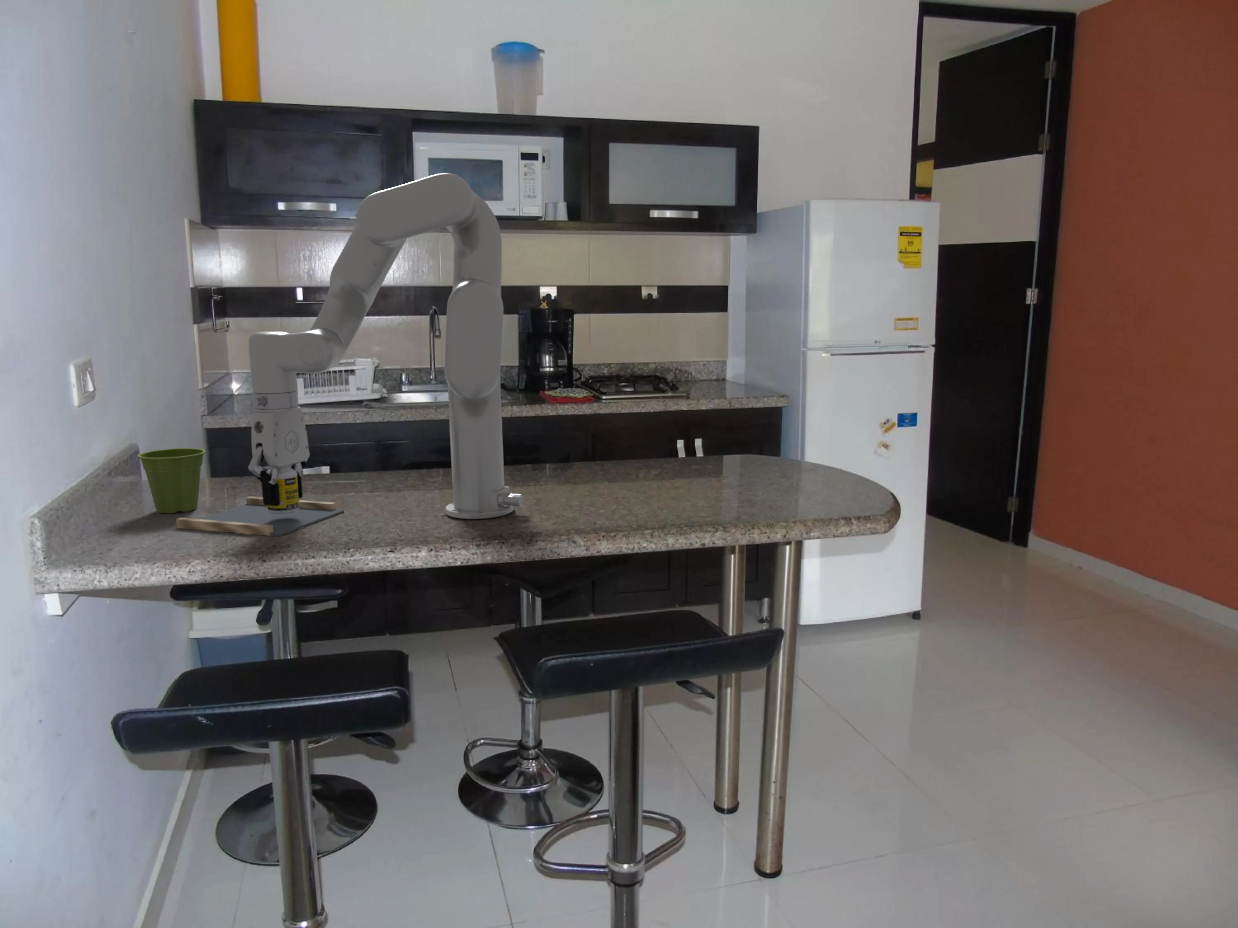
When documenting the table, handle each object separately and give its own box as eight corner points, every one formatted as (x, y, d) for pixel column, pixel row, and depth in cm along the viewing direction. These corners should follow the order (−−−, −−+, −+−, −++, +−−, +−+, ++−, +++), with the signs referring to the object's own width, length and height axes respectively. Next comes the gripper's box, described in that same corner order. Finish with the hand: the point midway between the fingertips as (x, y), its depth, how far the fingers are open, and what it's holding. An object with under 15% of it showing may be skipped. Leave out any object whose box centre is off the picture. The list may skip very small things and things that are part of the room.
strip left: (273, 534, 159) (272, 525, 158) (268, 535, 158) (268, 526, 157) (182, 526, 165) (181, 517, 165) (177, 527, 164) (176, 519, 164)
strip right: (336, 510, 175) (335, 502, 175) (332, 512, 174) (331, 504, 174) (251, 504, 181) (250, 496, 181) (246, 505, 180) (246, 497, 180)
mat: (344, 512, 174) (343, 509, 174) (280, 536, 157) (279, 533, 157) (249, 504, 181) (249, 503, 181) (178, 527, 164) (178, 525, 164)
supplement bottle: (289, 515, 164) (285, 461, 162) (262, 514, 165) (257, 460, 163) (305, 508, 169) (301, 456, 167) (278, 507, 170) (274, 455, 168)
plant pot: (202, 515, 173) (195, 456, 171) (134, 518, 172) (127, 459, 169) (218, 501, 185) (212, 446, 183) (155, 504, 183) (149, 448, 181)
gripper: (259, 408, 154) (267, 513, 158) (323, 397, 170) (330, 493, 174) (223, 406, 157) (232, 510, 160) (290, 396, 173) (297, 490, 176)
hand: (283, 500), depth 167 cm, fingers closed on supplement bottle, 5 cm apart
